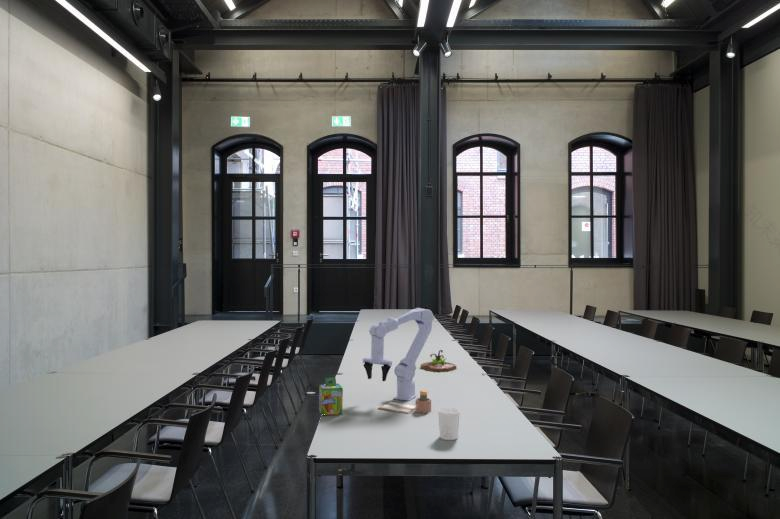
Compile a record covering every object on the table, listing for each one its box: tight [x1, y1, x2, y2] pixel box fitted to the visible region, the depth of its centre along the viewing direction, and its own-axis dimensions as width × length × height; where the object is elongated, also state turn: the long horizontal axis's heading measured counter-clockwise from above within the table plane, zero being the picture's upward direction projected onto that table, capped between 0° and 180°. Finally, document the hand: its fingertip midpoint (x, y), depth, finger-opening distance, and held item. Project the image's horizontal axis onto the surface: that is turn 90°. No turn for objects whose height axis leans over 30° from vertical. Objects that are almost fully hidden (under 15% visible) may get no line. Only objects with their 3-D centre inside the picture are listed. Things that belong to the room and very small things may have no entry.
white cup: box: [438, 407, 461, 441], centre depth 204 cm, size 8×8×10 cm
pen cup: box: [415, 397, 432, 414], centre depth 238 cm, size 6×6×5 cm
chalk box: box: [318, 377, 344, 417], centre depth 236 cm, size 9×9×15 cm
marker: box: [419, 390, 428, 401], centre depth 238 cm, size 3×3×8 cm
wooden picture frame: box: [377, 401, 416, 414], centre depth 243 cm, size 12×15×1 cm
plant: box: [420, 349, 457, 373], centre depth 328 cm, size 20×20×11 cm
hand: (376, 379), depth 252 cm, fingers open, 7 cm apart
